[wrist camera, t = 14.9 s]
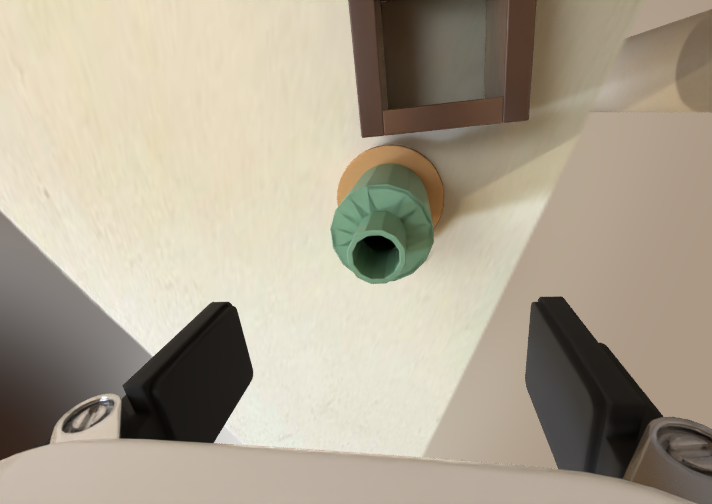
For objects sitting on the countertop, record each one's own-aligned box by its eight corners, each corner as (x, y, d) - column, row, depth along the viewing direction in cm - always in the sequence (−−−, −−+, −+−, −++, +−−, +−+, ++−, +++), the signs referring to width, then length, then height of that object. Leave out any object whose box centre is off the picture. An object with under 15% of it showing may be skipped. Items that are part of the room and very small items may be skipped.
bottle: (425, 159, 28) (436, 193, 16) (427, 233, 30) (438, 309, 19) (349, 166, 29) (308, 203, 17) (357, 237, 31) (325, 311, 20)
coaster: (442, 139, 28) (443, 139, 27) (444, 245, 31) (444, 248, 30) (331, 150, 29) (330, 151, 29) (344, 250, 32) (343, 252, 32)
